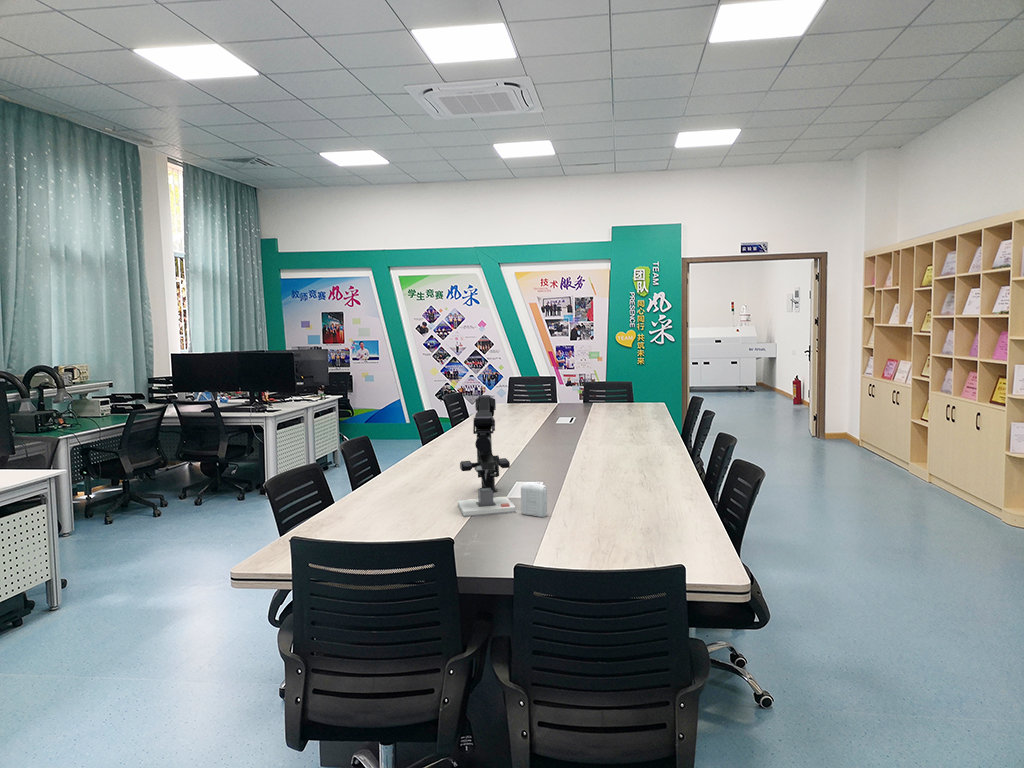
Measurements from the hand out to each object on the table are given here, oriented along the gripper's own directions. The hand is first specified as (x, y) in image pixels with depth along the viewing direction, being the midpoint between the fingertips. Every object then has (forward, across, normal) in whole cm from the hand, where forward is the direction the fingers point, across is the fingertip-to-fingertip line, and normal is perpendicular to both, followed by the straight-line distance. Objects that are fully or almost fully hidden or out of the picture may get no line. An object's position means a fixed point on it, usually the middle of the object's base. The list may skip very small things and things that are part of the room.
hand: (485, 486), depth 260 cm
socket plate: (+9, 0, 0) cm, 9 cm away
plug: (+8, 0, 0) cm, 8 cm away
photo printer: (+9, +16, -13) cm, 23 cm away
